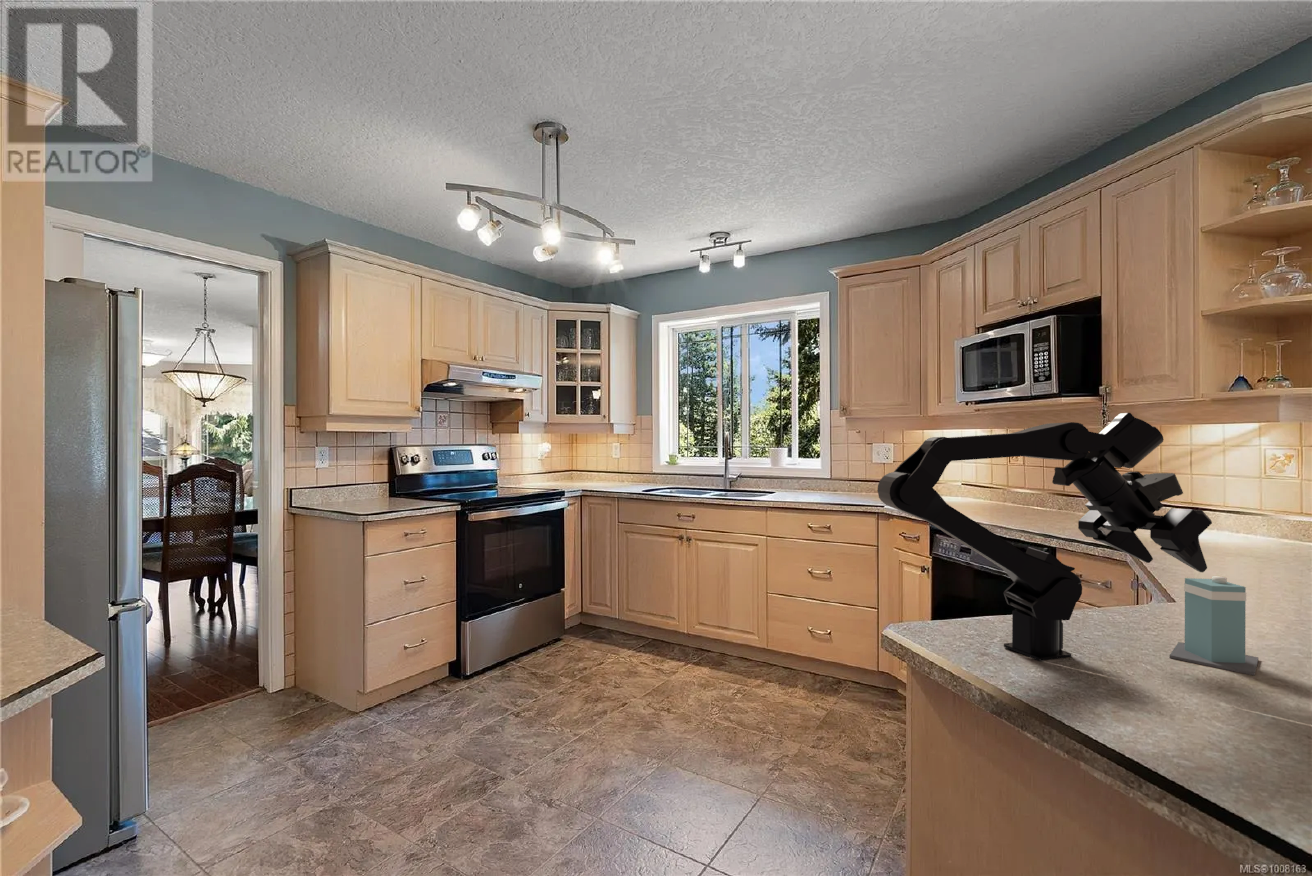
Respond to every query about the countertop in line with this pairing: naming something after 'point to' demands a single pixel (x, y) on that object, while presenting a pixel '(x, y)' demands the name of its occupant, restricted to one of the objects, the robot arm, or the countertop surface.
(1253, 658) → the mat
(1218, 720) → the countertop surface
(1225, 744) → the countertop surface
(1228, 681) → the countertop surface
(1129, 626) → the countertop surface
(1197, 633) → the carton
